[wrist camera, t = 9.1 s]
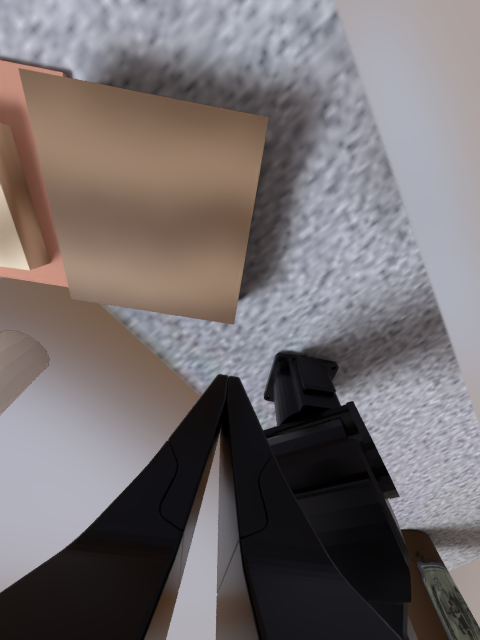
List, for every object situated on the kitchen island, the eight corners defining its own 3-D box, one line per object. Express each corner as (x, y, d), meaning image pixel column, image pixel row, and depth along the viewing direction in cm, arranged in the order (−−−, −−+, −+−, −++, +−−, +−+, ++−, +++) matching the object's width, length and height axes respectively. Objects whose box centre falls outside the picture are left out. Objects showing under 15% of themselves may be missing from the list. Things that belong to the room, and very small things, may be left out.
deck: (236, 302, 20) (233, 324, 17) (102, 280, 20) (71, 298, 17) (264, 135, 15) (268, 117, 11) (75, 98, 14) (18, 68, 11)
